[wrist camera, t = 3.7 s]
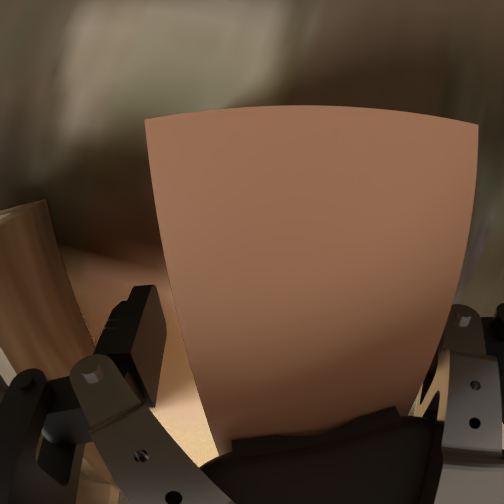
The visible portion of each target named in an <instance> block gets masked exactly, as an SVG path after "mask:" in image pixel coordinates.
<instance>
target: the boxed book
mask: <svg viewBox="0 0 504 504" xmlns="http://www.w3.org/2000/svg"><path fill="white" fill-rule="evenodd" d="M145 129H146V139H147V148H148V156H149V164H150V172H151V179H152V186H153V193H154V199H155V206H156V212H157V218H158V224H159V229H160V235H161V241H162V246H163V251H164V256H165V261H166V266H167V271H168V276H169V281H170V285H171V290H172V294H173V299H174V303H175V307H176V312H177V316H178V320H179V324H180V328H181V332H182V336H183V340H184V344H185V347H186V351H187V355H188V358H189V362H190V366H191V369H192V373H193V376H194V380H195V383H196V386H197V390H198V393H199V396H200V400H201V403H202V406H203V409H204V412H205V415H206V418H207V422H208V425H209V428H210V431H211V433H212V436H213V439H214V442H215V445H216V448H217V451H218V453H219V456H221V455H223V454H226V453H229V452H232V440H239V439H249V438H257V437H265V436H272V435H284V436H322V435H325V434H327V433H329V432H332V431H334V430H336V429H338V428H340V427H342V426H344V425H345V424H347V423H349V422H351V421H353V420H355V419H357V418H359V417H361V416H365V415H368V414H372V413H375V412H378V411H382V410H385V409H388V408H391V407H394V406H395V407H396V409H397V411H398V413H399V414H400V416H407V415H408V413H409V411H410V409H411V407H412V405H413V403H414V401H415V399H416V397H417V395H418V392H419V390H420V388H421V386H422V384H423V381H424V379H425V377H426V375H427V372H428V370H429V367H430V365H431V363H432V360H433V358H434V355H435V352H436V350H437V347H438V345H439V342H440V339H441V336H442V333H443V331H444V328H445V325H446V322H447V319H448V315H449V312H450V309H451V306H452V302H453V299H454V295H455V292H456V288H457V284H458V281H459V277H460V273H461V269H462V264H463V260H464V255H465V250H466V245H467V240H468V235H469V229H470V223H471V217H472V210H473V202H474V194H475V185H476V173H477V158H478V125H477V124H473V123H468V122H464V121H459V120H454V119H448V118H443V117H437V116H431V115H425V114H418V113H411V112H403V111H394V110H385V109H374V108H361V107H345V106H314V105H289V106H258V107H241V108H228V109H217V110H207V111H198V112H190V113H182V114H175V115H168V116H162V117H156V118H150V119H145Z"/></svg>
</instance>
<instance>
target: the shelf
mask: <svg viewBox="0 0 504 504" xmlns="http://www.w3.org/2000/svg"><path fill="white" fill-rule="evenodd" d="M94 350H95V346H94V343H93V341H92V339H91V337H90V334H89V332H88V330H87V327H86V325H85V323H84V320H83V318H82V315H81V313H80V310H79V307H78V305H77V302H76V300H75V297H74V294H73V291H72V289H71V286H70V283H69V280H68V277H67V274H66V271H65V268H64V265H63V261H62V258H61V255H60V251H59V248H58V244H57V241H56V237H55V233H54V230H53V226H52V222H51V218H50V213H49V209H48V205H47V200H46V199H43V200H39V201H35V202H31V203H27V204H23V205H19V206H16V207H12V208H8V209H5V210H1V211H0V404H1V402H2V400H3V398H4V395H5V393H6V391H7V389H8V387H9V385H10V383H11V381H12V380H13V378H14V377H15V376H16V375H17V374H19V373H20V372H22V371H24V370H26V369H31V368H36V369H39V370H41V371H42V372H43V373H44V374H45V376H46V377H47V379H48V380H53V379H58V378H62V377H66V376H69V375H70V371H71V369H72V367H73V366H74V365H75V364H76V363H77V362H78V361H79V360H81V359H82V358H84V357H87V356H90V355H93V353H94ZM43 437H44V436H43V435H42V434H41V435H40V438H39V442H38V445H37V449H36V461H37V459H38V455H39V451H40V448H41V444H42V441H43ZM118 496H119V487H118V485H117V483H116V482H115V480H114V479H113V477H112V475H111V474H110V472H109V470H108V468H107V467H106V465H105V463H104V461H103V459H102V458H101V456H100V454H99V452H98V450H97V448H96V446H95V444H94V442H88V443H86V444H85V449H84V455H83V460H82V466H81V471H80V477H79V484H78V491H77V498H76V504H118Z"/></svg>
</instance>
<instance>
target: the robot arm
mask: <svg viewBox="0 0 504 504" xmlns="http://www.w3.org/2000/svg"><path fill="white" fill-rule="evenodd" d="M166 333H167V332H166V323H165V319H164V315H163V311H162V307H161V304H160V300H159V296H158V292H157V289H156V286H155V285H143V286H134V287H133V289H132V291H131V293H130V295H129V298H128V300H127V301H121V302H120V303H119V304H118V305H117V306H116V307H115V308H114V309H113V310H112V312H111V314H110V316H109V318H108V321H107V323H106V325H105V329H103V332H102V334H101V336H100V338H99V341H98V343H97V345H96V348H95V350H94V353H93V355H90V356H87V357H84V358H82V359H81V360H79V361H78V362H77V363H76V364H75V365H74V366H73V367H72V369H71V371H70V375H69V376H66V377H62V378H58V379H53V380H48V379H47V377H46V376H45V374H44V373H43V372H42V371H41V370H39V369H36V368H31V369H26V370H24V371H22V372H20V373H19V374H17V375H16V376H15V377H14V378H13V380H12V381H11V383H10V385H9V387H8V389H7V391H6V393H5V395H4V398H3V400H2V402H1V404H0V504H76V498H77V491H78V484H79V477H80V471H81V466H82V460H83V455H84V449H85V444H86V443H88V442H94V444H95V446H96V448H97V450H98V452H99V454H100V456H101V458H102V459H103V461H104V463H105V465H106V467H107V468H108V470H109V472H110V474H111V475H112V477H113V479H114V480H115V482H116V483H117V485H118V487H119V488H120V490H121V491H122V493H123V494H124V496H125V498H126V499H127V501H128V502H129V504H504V450H503V449H502V422H503V424H504V303H502V304H500V305H498V306H497V309H496V311H495V314H494V317H480V315H479V314H478V313H477V312H476V311H475V310H474V309H472V308H470V307H468V306H465V305H461V304H452V306H451V309H450V312H449V315H448V319H447V322H446V325H445V328H444V331H443V333H442V336H441V339H440V342H439V345H438V347H437V350H436V352H435V355H434V358H433V360H432V363H431V365H430V367H429V370H428V372H427V375H426V377H425V379H424V381H423V384H422V386H421V388H420V390H419V392H418V398H417V403H416V408H415V413H414V416H400V414H399V413H398V411H397V409H396V407H395V406H394V407H391V408H388V409H385V410H382V411H378V412H375V413H372V414H368V415H365V416H361V417H359V418H357V419H355V420H353V421H351V422H349V423H347V424H345V425H344V426H342V427H340V428H338V429H336V430H334V431H332V432H329V433H327V434H325V435H322V436H284V435H272V436H265V437H257V438H249V439H239V440H232V452H229V453H226V454H223V455H221V456H218V457H216V458H214V459H212V460H210V461H208V462H207V463H205V464H204V465H202V466H201V467H198V466H197V465H196V464H195V463H194V462H193V461H192V460H191V459H190V458H189V457H188V456H187V454H186V453H185V452H184V451H183V450H182V449H181V448H180V446H179V445H178V444H177V443H176V442H175V441H174V440H173V438H172V437H171V436H170V435H169V434H168V432H167V431H166V430H165V429H164V427H163V426H162V425H161V424H160V422H159V421H158V420H157V419H156V417H155V416H154V415H153V414H152V412H151V411H150V410H149V408H148V407H155V404H156V397H157V390H158V384H159V377H160V371H161V365H162V359H163V353H164V347H165V342H166ZM41 434H42V435H43V436H44V437H43V441H42V444H41V448H40V451H39V455H38V459H37V461H36V449H37V445H38V442H39V438H40V435H41Z"/></svg>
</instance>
